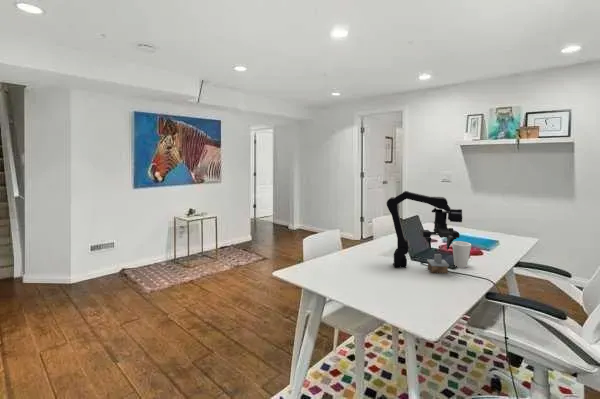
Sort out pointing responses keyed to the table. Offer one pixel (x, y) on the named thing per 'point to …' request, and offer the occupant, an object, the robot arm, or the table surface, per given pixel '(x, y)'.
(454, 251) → the foam cup
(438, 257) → the lid
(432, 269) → the walnut box
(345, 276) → the table surface
